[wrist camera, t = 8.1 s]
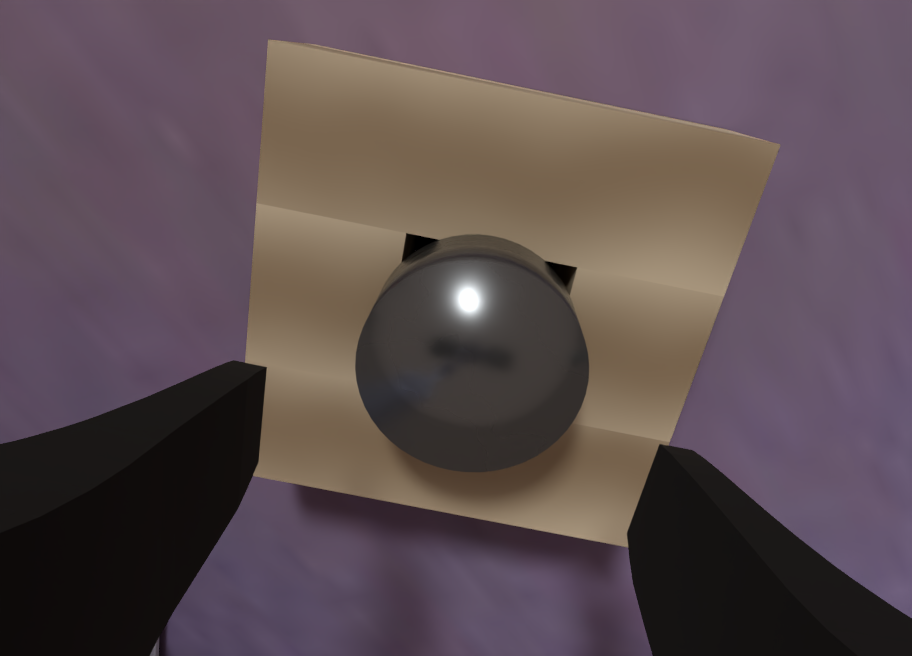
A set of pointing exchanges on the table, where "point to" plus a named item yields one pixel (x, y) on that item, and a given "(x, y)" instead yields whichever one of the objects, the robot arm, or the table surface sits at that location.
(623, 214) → the wooden block
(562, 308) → the steel pin
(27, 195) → the table surface
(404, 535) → the table surface
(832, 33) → the table surface
